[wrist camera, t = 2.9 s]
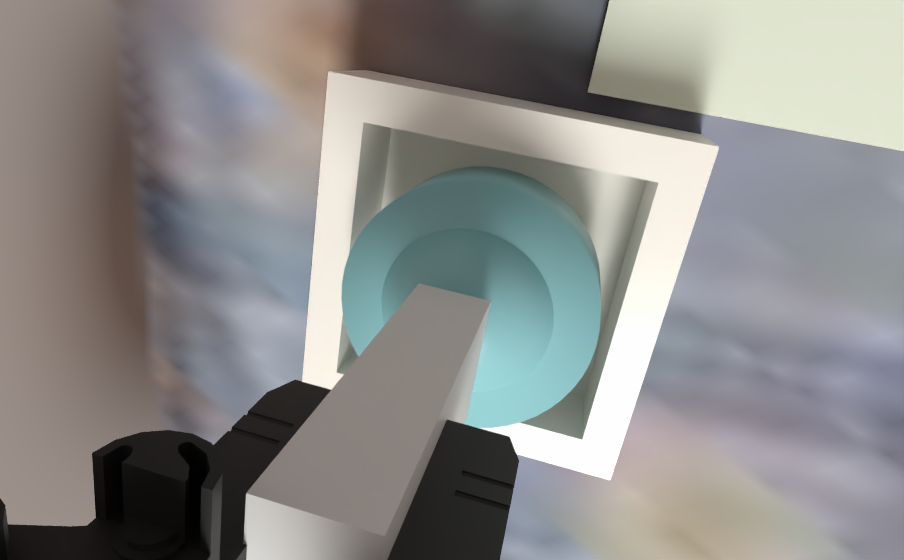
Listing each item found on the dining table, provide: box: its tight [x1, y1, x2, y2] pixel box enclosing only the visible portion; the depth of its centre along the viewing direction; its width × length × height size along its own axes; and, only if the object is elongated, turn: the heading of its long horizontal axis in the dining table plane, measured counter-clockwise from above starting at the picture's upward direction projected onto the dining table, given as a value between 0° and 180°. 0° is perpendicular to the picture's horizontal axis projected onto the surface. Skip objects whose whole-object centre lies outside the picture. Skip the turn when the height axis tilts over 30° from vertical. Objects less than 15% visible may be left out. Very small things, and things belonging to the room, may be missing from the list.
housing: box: [302, 70, 719, 480], centre depth 16 cm, size 9×9×2 cm
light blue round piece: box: [341, 166, 601, 428], centre depth 15 cm, size 6×6×4 cm
